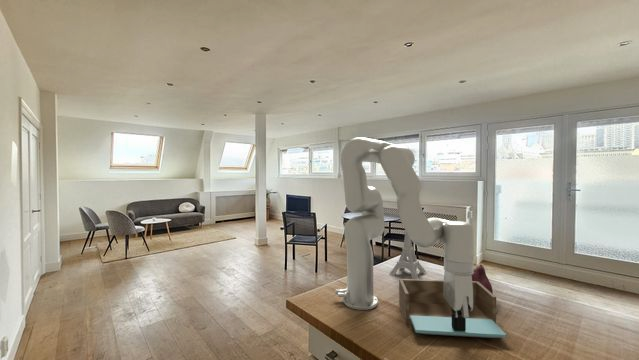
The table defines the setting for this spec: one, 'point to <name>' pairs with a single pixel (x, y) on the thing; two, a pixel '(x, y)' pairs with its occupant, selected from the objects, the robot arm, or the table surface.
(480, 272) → the vegetable
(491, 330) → the panel
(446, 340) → the table surface
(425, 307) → the tray
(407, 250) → the eiffel tower
